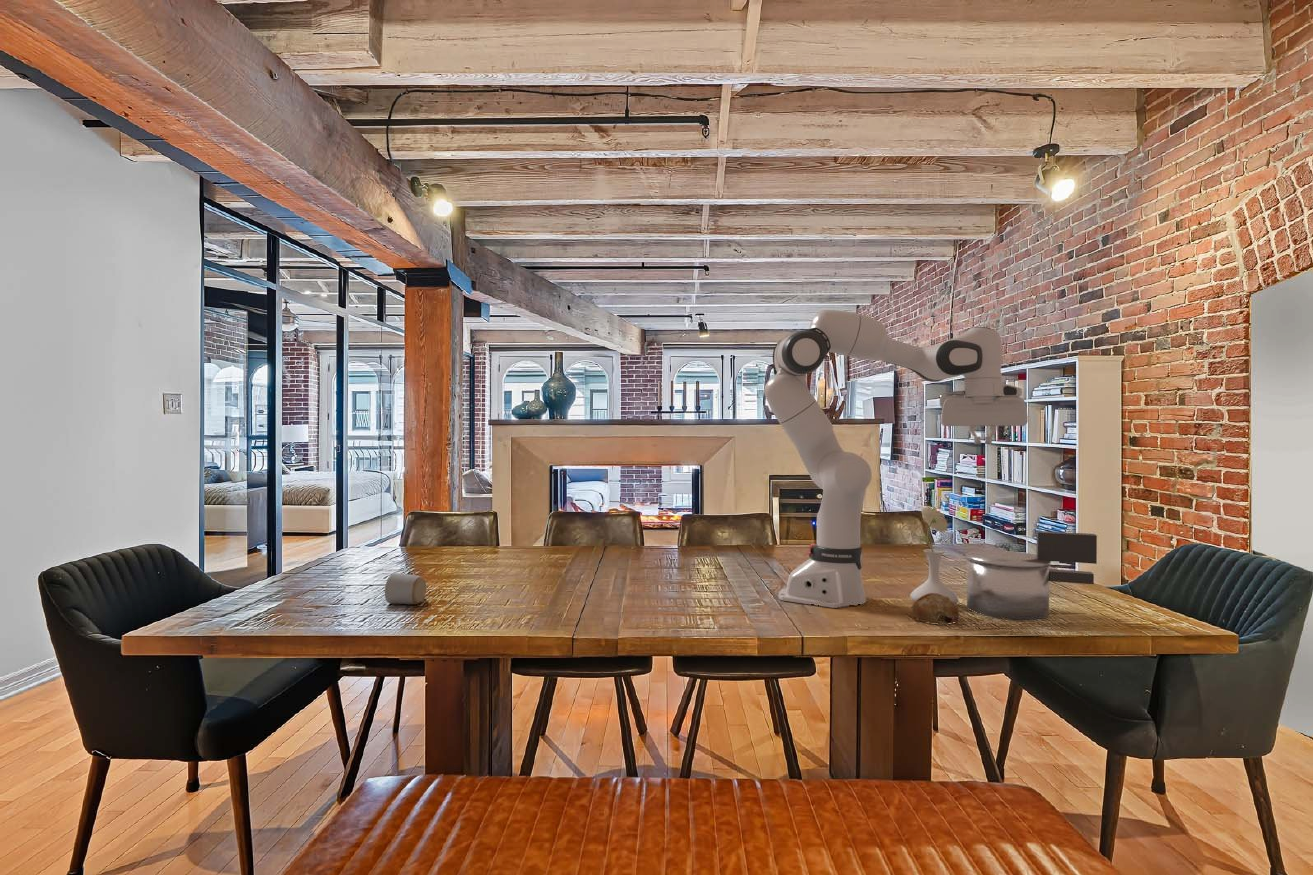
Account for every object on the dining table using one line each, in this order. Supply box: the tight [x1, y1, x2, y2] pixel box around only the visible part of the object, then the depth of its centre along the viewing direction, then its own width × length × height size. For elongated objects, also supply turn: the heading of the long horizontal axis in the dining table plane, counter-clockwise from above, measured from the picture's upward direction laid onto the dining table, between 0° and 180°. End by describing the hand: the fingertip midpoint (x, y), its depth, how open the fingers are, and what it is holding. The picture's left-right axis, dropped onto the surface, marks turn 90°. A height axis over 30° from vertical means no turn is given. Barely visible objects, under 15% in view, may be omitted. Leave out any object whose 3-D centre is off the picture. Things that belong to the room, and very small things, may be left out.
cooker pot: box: [966, 559, 1095, 622], centre depth 164 cm, size 27×18×12 cm, turn 68°
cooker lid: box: [965, 530, 1098, 568], centre depth 164 cm, size 28×19×8 cm
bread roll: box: [910, 593, 960, 624], centre depth 158 cm, size 10×10×8 cm
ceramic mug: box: [384, 572, 427, 605], centre depth 173 cm, size 11×8×8 cm
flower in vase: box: [909, 505, 959, 605], centre depth 172 cm, size 13×11×25 cm
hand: (982, 443), depth 174 cm, fingers closed
